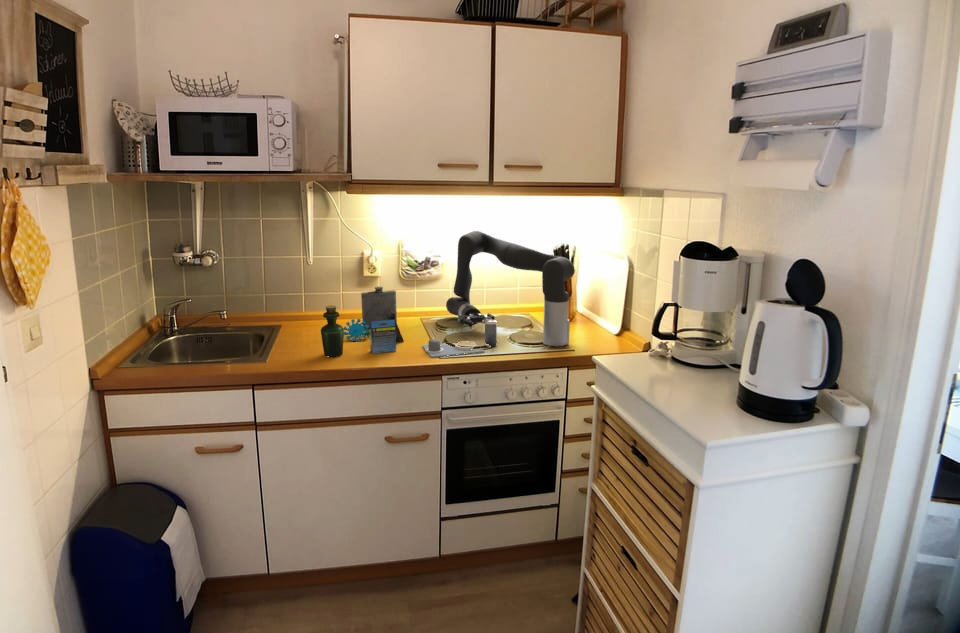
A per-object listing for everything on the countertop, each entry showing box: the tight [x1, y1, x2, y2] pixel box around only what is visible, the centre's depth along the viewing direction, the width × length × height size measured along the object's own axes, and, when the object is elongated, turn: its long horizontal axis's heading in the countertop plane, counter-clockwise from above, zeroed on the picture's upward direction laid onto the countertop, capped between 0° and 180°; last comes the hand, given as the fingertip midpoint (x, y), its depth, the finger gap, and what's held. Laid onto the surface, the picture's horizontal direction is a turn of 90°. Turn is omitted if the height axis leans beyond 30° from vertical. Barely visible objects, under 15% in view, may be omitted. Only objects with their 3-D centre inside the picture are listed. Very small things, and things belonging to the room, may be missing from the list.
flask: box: [360, 286, 398, 330], centre depth 260 cm, size 4×14×18 cm, turn 111°
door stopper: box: [382, 310, 405, 344], centre depth 245 cm, size 9×6×12 cm, turn 111°
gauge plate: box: [421, 338, 485, 359], centre depth 236 cm, size 20×14×4 cm
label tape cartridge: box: [369, 320, 397, 354], centre depth 232 cm, size 9×4×12 cm, turn 109°
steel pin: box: [484, 319, 498, 349], centre depth 240 cm, size 4×4×10 cm
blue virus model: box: [343, 318, 370, 342], centre depth 249 cm, size 11×6×10 cm
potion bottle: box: [320, 305, 345, 358], centre depth 227 cm, size 8×8×18 cm
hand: (481, 323), depth 249 cm, fingers open, 8 cm apart
